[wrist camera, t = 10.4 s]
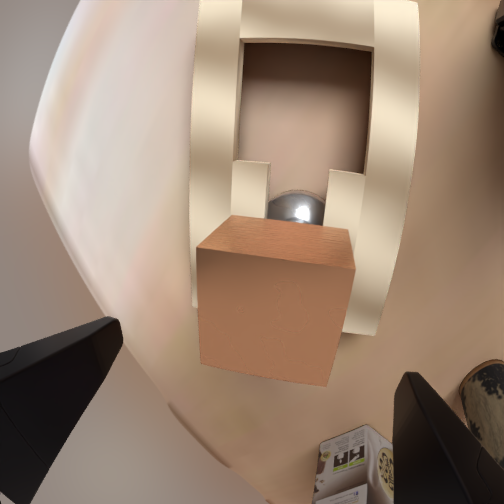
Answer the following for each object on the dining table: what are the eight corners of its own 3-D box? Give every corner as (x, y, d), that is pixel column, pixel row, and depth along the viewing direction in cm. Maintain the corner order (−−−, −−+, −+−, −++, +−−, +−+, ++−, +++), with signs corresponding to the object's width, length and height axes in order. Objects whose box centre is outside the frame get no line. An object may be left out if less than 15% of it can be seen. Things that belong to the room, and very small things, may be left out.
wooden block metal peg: (342, 195, 19) (359, 266, 9) (331, 270, 21) (328, 388, 11) (261, 185, 20) (192, 243, 10) (257, 259, 22) (198, 364, 12)
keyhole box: (220, 9, 16) (200, -9, 12) (404, 22, 13) (417, 3, 10) (210, 283, 23) (192, 306, 20) (369, 307, 21) (374, 335, 18)
